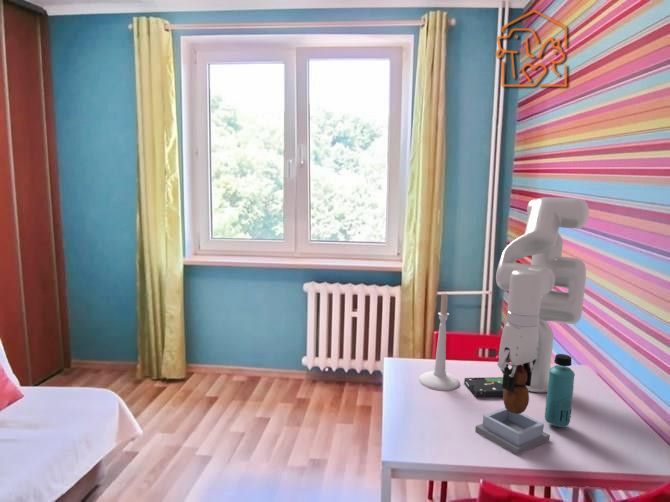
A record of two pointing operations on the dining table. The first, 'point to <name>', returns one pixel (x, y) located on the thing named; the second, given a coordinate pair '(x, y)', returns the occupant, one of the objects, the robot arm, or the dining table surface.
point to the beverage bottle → (560, 392)
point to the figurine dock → (512, 430)
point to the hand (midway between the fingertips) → (516, 386)
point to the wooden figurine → (517, 393)
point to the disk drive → (485, 387)
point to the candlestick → (440, 357)
